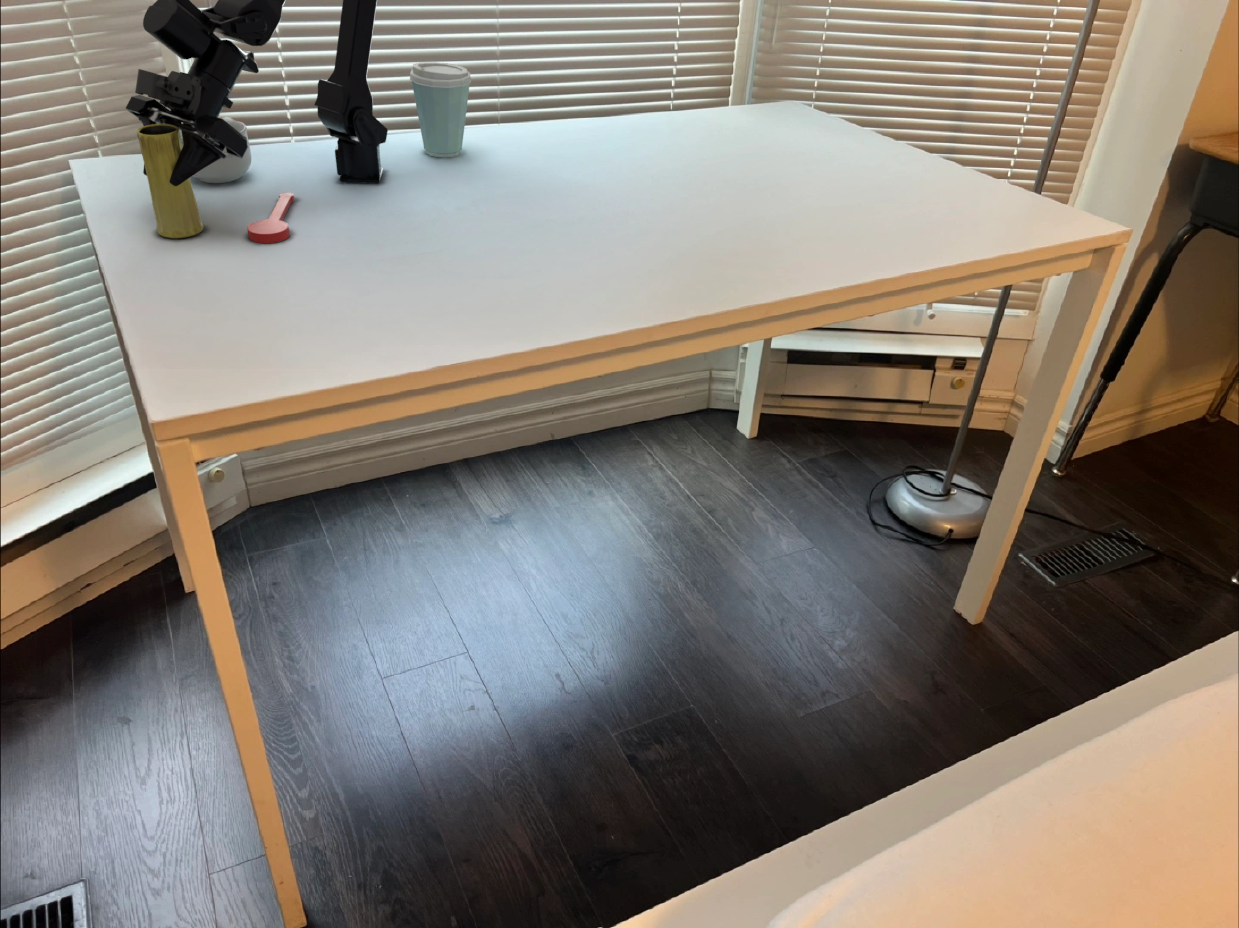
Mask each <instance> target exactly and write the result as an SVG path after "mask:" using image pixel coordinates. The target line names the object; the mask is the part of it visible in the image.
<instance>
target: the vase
mask: <svg viewBox="0 0 1239 928" xmlns="http://www.w3.org/2000/svg"><path fill="white" fill-rule="evenodd" d="M136 135H137V138H138V142H139V149H140V152H141V156H142V161H143V165H144V164H145V168H146V173H147V176H146V178H147V182H148V188H149V192H150V198H151V203H152V204H151V205H152V208H153V214H154V218H155V222H156V223H155V224H156V232H157V234H158V235H160V236H161V237H164V238H167V239H168V238H169V239H183V238H184V239H185V238H189V237H193V236H196V235H199V234H200V233H201V232H202V231H203V230H204V224H203V222H202V219H201V214H200V211H199V207H198V203H197V200H196V196H195V193H194V189H193V186H192V182H191V177H190V178H189V179H187V180H186V181H184V182H183V183H181V184H180V185H178V186H173V185H172V184H170V182H169V181H170V178H171V175H172V172H173V169H174V167H175V164H176V162H177V160H178V157H179V155H180V153H181V150H182V148H183V144H182V140H181V135H180V132H179V128H178V127H177V126H175V125H170V124H153V125H147V126H143V125H142V126H140V127H138V128H137V130H136Z"/></svg>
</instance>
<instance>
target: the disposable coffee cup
mask: <svg viewBox="0 0 1239 928" xmlns="http://www.w3.org/2000/svg"><path fill="white" fill-rule="evenodd" d="M409 81H411V85H412V90H413V97H414V101H415V106H416V112H417V117H418V122H419V127H420V133H421V138H422V145H423V149H424V150H425V153H426V154H427V155H428V156H431V157H436V158H454V157H457V156H459V155H461V151H462V149H463V142H464V133H465V127H466V118H467V109H468V100H469V94H470V85H471V83H472V77H471V72H470V71H468V69H467V68H466V67H464V66H461V65H459V64H458V65H457V64H453V63H449V62H438V61H437V62H436V61H420V62H415V63H412V68H411V70H410V75H409Z"/></svg>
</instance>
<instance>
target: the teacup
mask: <svg viewBox="0 0 1239 928" xmlns="http://www.w3.org/2000/svg"><path fill="white" fill-rule="evenodd" d="M221 119H224V120H225V121H226V122H228V123H229V124H230V125H231V126H233V127H234V128H235V129H236V130H238V131H239V132H240V133H242V134H243V135H244V136H245V137H247V143H248V148H247V150H246V152H245V154H244V156H243V158H239V157H236V156H233V155H230V154H228V153H227V151H226V147H225V149H224V151H223V153H224V154H225V155H226V157H225V158H224V159H223V158H220V159H219V160H217V161H215V162H214V163H212V164H210V165H208V166H207V167H205V168H203V169H202V170H200V171H199V172H197V173H196V174H194V175H193V176H192V177H195V178H197V179H199V180H200V181H201V182H204V183H208V184H223V183H230V182H234V181H237V180H238V179H240V178H242V177H243V176H244V175H245V173H246V172H247V171H248V170H249V168H250V167H251V164H252V151H251V146H250V145H251V144H250V140H249V137H248V131H247V130H248V129H247V125H246V124H245V123H244V122H242V121H238V120H235V119H233V118H232V117H222V118H221ZM179 132H180V135H181V140H182V142H183V138H182V131H181V130H179ZM182 144H183V143H182Z"/></svg>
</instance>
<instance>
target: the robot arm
mask: <svg viewBox="0 0 1239 928" xmlns="http://www.w3.org/2000/svg"><path fill="white" fill-rule="evenodd" d="M286 1H287V0H217V1H216V3H215V4H214V6H211V7H208V8H205V9H202V10H201V9H199V8H198V6H196V5H195V4H194V3H193V2H192V0H156V1H155V2H154V3H153V4H152V5H149V6H148V7H147V9H146V11H145V13H144V15H143V19H142V20H143V22H142V27H143V29H144V31H145V32H146V33H148V35H150V36H151V37H153V38H154V39H156V40H157V41H158V42H160V43H161V44H162V45H163V46H164V47H166V48H167V49H168V50H169V51H171V52H172V53H173V54H175V55H176V56H177V57H178V58H179V59H181V60H190V59H194V60H193V61H192V63H191V65H190V68H189V69H188V72H183V71H174V70H171V71H170V73H169V74H168V75H167V76H166V75H162V74H159V73H156V72H152V71H148V70H145V69H142V68H141V69H140V68H138V71H137V75H136V76H137V77H136V84H135V91H134V93H135V94H136V95H132V96H130V98H129V100H128V103H127V104H126V106H125V110H126V111H127V112H128V113H130V114H131V115H133V116H134V117H135V118H137V120H138V121H139V122H140V123H141V124H142V127H143V126H147V125H153V124H170V125H175V126H177V127H178V128H179V130H181V131H182V138H183V142H182V143H183V148H182V150H181V153H180V155H179V157H178V160H177V162H176V164H175V167H174V169H173V172H172V175H171V178H170V181H169V182H170V184H172V185H173V186H178V185H180V184H181V183H183V182H184V181H186V180H187V179H189V178H190V179H191V178H192V177H194V176H193V175H194V174H196V173H197V172H199V171H200V170H202V169H203V168H205V167H207V166H208V165H210V164H212V163H214V162H215V161H217V160H219V159H220V158H223V159H224V158H225V157H226V155H225V154H224V153H223V151H224V149H225V147H226V151H227V153H228V154H230V155H233V156H236V157H239V158H243V156H244V154H245V152H246V150H247V148H248V143H247V137H245V136H244V135H243V134H242V133H240V132H239V131H238V130H236V129H235V128H234V127H233V126H231V125H230V124H229V123H228V122H226V121H225V120H224V119H222V118H220V117H219V116H220V114H221V112H222V111H223V109H224V108H226V109H230V110H231V108H232V106H233V104H234V101H232V100H231V99H230V98H229V97H230V95H231V93H232V91H233V89H234V87H235V85H236V83H237V81H238V80H239V77H240V75H241V74H242V71H244V72H248V73H253V74H258V73H259V72H260V69H259V67H258V63H257V62H256V58H255V53H254V52H253V51H249V50H242V49H241V48H240V47H239V46H237V45H236V44H235V43H234V42H232V41H235V42H237V43H241V44H245V45H247V46H251V47H262V46H265V45H266V44H267V43H268V42H269V41H270V40H271V39H272V37H273V35H274V33H275V32H276V29H277V27H278V26H279V24H280V22H281V20H282V15H283V13H282V12H283V6H284V5H285V3H286ZM377 3H378V0H342V4H341V14H340V22H339V31H338V37H337V45H336V47H337V48H336V52H335V62H334V68H333V72H332V73H331V75H330V76H329V77H328V79H327V80H324V79H322V78H320V79H319V80H318V81H317V96H316V100H315V101H314V105H313V106H315V107H317V117H318V119H319V120H320V122H321V123H322V125H323V126H324V127H326V130H327V132H328V134H329V136H330V137H332V138H337V142H336V143H337V146H336V147H335V149H334V157H335V165H336V174H337V175H338V176H339V178H338V181H339V182H340V183H363V184H365V183H366V184H367V183H368V184H377V183H380V182H381V180H382V176H383V173H384V168H383V167H382V162H381V152H380V145H382V144H385V143H386V142H387V137H388V132H389V131H388V128H387V127H386V126H385V125H384V124H383V123H382V122H381V121H379V120H378V119H377V117H375V116H374V98H373V95H372V92H371V89H370V86H369V83H368V70H369V64H370V63H369V61H370V55H371V47H372V41H373V40H372V39H373V33H374V25H375V20H376V19H375V18H376V11H377V5H378V4H377ZM215 33H217V34H220V35H222V36H223V37H224V38H225V39H221V38H219V36H217V35H216V34H215ZM144 95H146V96H144ZM142 170H143V171H142V173H143V175H144V176H146V177H147V173H146V168H145V164H144V163H143V169H142Z"/></svg>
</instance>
